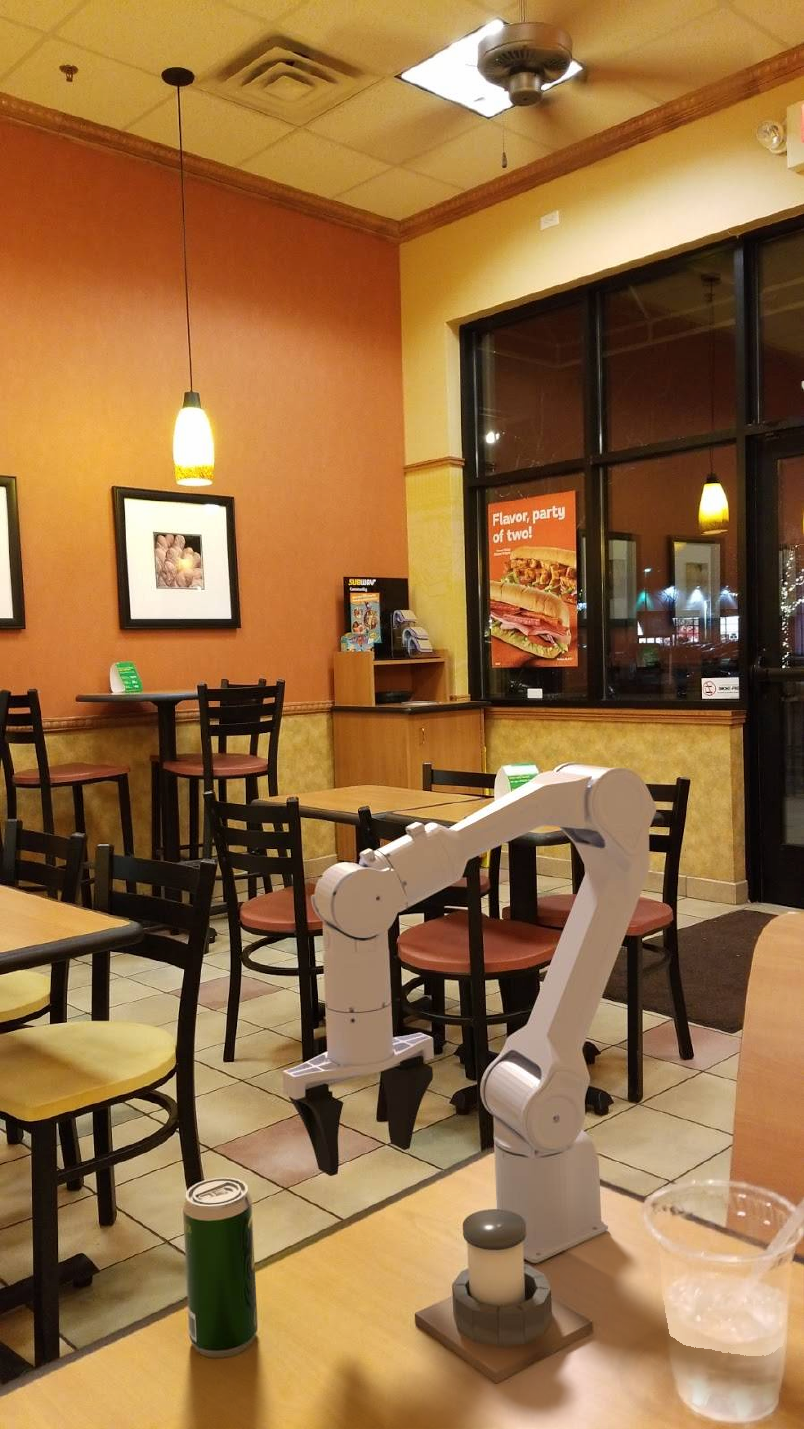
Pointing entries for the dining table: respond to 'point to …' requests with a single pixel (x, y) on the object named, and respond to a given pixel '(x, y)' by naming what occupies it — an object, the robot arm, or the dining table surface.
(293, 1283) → the dining table surface
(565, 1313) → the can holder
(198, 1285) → the green guarana soda can
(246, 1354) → the dining table surface
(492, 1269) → the grey-capped cream cylinder
